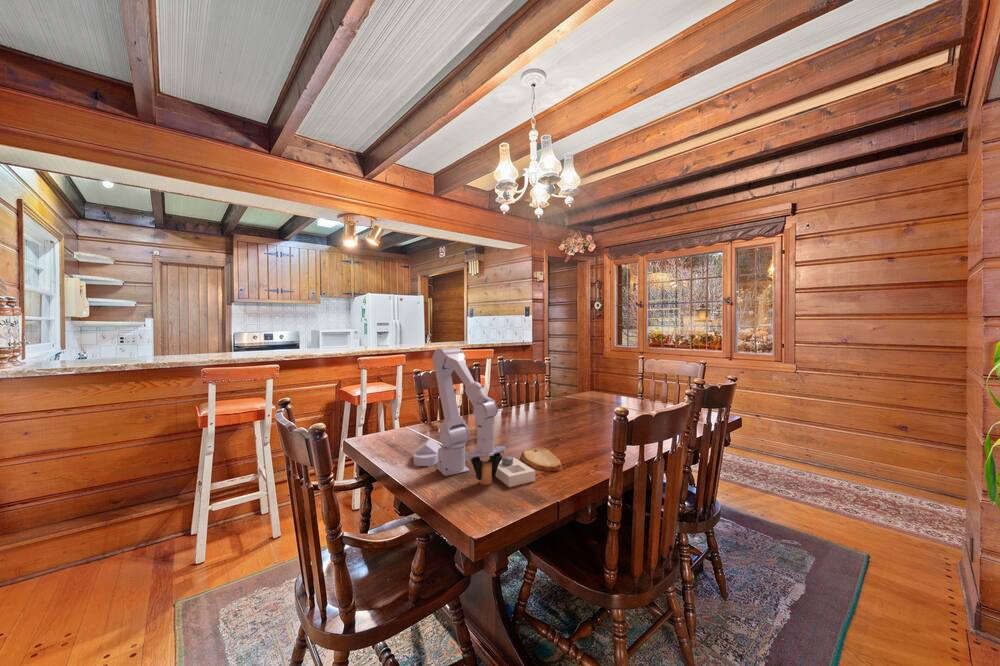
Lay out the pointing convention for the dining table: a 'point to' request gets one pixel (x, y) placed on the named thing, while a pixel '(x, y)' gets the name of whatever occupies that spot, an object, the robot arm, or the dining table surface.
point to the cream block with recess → (514, 472)
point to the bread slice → (541, 459)
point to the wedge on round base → (427, 453)
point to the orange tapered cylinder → (486, 472)
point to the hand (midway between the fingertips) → (485, 477)
